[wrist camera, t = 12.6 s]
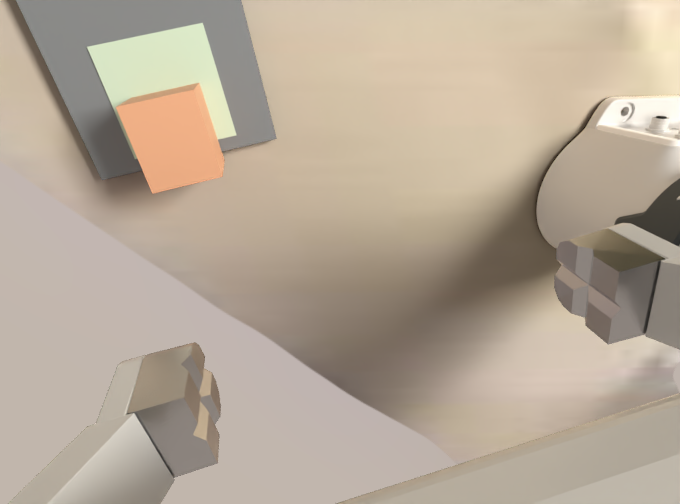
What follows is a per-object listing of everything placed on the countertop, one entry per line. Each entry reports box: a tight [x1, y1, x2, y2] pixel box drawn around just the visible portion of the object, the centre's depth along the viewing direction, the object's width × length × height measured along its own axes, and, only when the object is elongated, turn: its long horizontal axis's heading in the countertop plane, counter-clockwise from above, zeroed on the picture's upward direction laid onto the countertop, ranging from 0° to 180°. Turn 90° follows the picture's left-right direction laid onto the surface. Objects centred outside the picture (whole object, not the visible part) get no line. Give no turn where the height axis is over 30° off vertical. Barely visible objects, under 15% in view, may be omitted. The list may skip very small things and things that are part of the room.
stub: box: [116, 83, 225, 194], centre depth 31 cm, size 5×6×4 cm
